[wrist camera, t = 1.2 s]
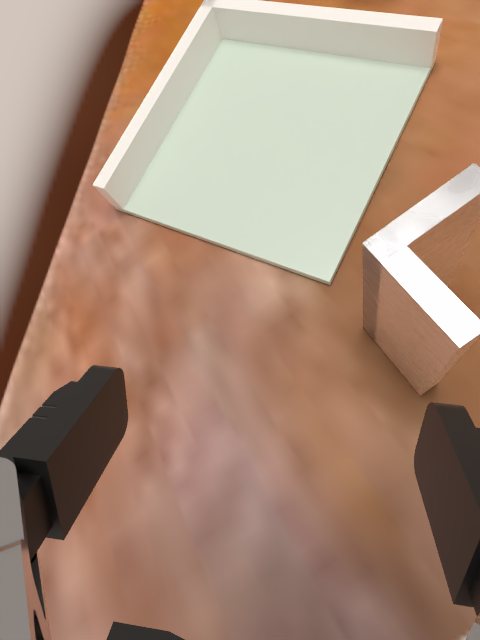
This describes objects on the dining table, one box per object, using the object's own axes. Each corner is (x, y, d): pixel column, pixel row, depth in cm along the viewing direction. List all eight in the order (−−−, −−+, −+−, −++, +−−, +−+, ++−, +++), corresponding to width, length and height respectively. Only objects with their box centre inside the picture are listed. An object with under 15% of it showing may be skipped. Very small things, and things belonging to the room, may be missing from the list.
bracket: (363, 327, 29) (362, 242, 18) (432, 279, 28) (474, 162, 17) (420, 395, 26) (459, 347, 15) (495, 343, 26) (589, 257, 15)
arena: (219, 33, 41) (207, -5, 38) (435, 62, 33) (442, 18, 30) (116, 209, 38) (92, 184, 34) (330, 285, 30) (326, 263, 27)
